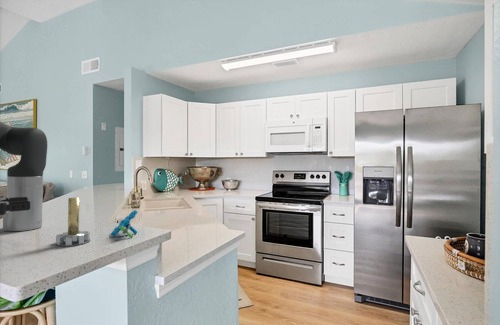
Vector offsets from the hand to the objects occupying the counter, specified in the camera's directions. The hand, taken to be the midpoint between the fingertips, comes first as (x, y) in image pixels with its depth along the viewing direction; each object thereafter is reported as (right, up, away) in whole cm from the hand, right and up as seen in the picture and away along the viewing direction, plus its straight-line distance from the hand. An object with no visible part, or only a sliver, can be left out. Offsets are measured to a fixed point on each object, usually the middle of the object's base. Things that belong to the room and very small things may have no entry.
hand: (28, 202), depth 70 cm
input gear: (+7, -12, +6) cm, 15 cm away
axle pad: (+7, -12, +7) cm, 15 cm away
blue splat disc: (+17, -12, +15) cm, 26 cm away
